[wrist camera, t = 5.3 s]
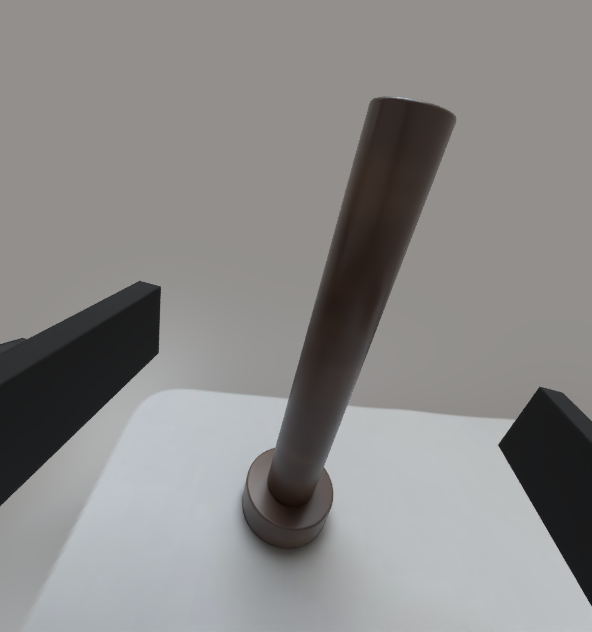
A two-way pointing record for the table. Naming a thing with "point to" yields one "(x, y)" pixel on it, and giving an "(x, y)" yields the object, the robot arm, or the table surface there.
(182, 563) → the table surface
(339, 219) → the muddler
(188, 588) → the table surface
